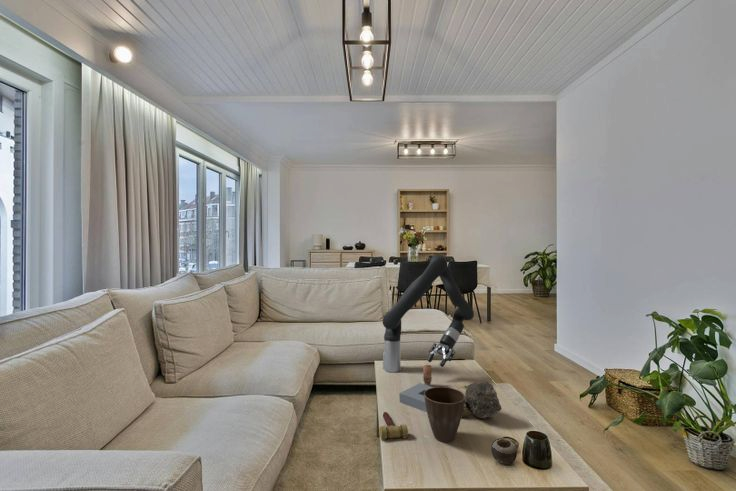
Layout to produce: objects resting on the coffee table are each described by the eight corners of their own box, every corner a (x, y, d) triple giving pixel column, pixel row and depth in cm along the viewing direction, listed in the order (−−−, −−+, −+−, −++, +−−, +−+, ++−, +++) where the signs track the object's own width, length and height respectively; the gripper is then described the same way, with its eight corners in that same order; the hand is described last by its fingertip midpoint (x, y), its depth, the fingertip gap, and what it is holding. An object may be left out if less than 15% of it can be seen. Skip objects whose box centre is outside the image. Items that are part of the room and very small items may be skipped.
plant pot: (436, 422, 147) (436, 383, 147) (471, 435, 138) (471, 393, 137) (416, 438, 136) (416, 396, 135) (453, 453, 126) (453, 407, 126)
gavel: (372, 407, 155) (395, 406, 156) (372, 418, 155) (396, 417, 156) (381, 429, 134) (407, 427, 136) (381, 442, 134) (408, 440, 135)
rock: (497, 375, 153) (465, 372, 149) (508, 411, 143) (474, 409, 139) (475, 391, 166) (445, 389, 162) (483, 426, 156) (452, 424, 152)
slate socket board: (399, 401, 167) (399, 393, 167) (419, 391, 178) (419, 383, 178) (432, 414, 154) (432, 405, 154) (452, 402, 166) (452, 393, 166)
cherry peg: (421, 385, 185) (421, 366, 185) (426, 383, 188) (426, 364, 188) (428, 388, 182) (428, 368, 182) (433, 385, 185) (433, 366, 185)
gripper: (436, 331, 198) (421, 356, 192) (456, 336, 187) (441, 363, 180) (443, 339, 201) (428, 364, 195) (463, 345, 190) (448, 371, 183)
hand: (434, 363), depth 188 cm, fingers open, 8 cm apart
